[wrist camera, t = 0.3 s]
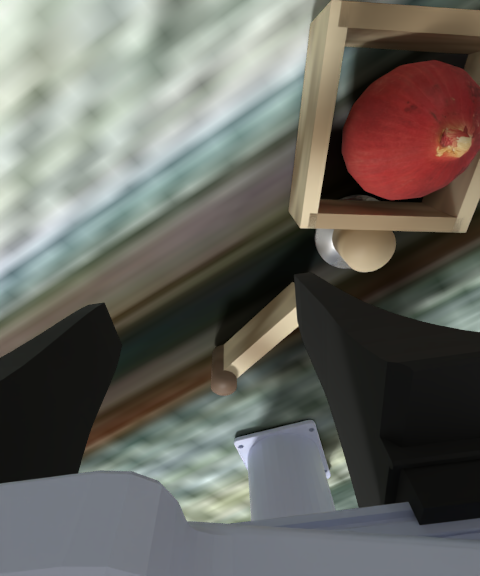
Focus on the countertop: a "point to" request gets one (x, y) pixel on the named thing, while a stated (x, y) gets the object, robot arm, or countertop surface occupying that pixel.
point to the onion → (413, 130)
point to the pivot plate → (325, 239)
